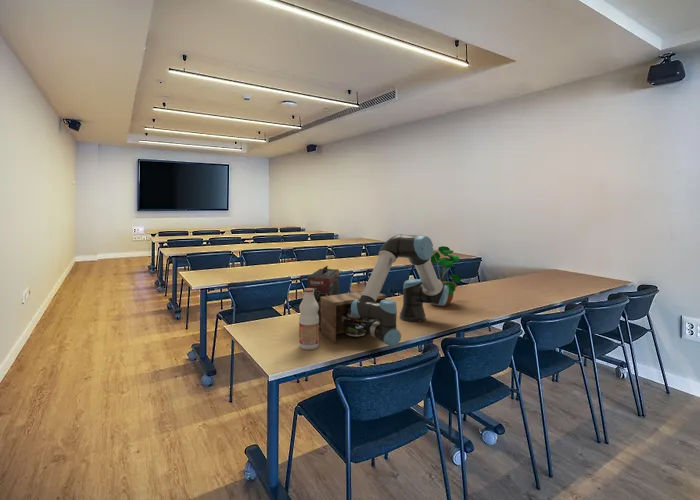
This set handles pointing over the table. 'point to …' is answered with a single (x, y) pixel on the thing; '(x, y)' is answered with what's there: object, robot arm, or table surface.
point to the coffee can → (355, 318)
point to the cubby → (337, 313)
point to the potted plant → (446, 263)
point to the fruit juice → (309, 321)
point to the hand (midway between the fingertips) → (351, 316)
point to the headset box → (323, 285)
